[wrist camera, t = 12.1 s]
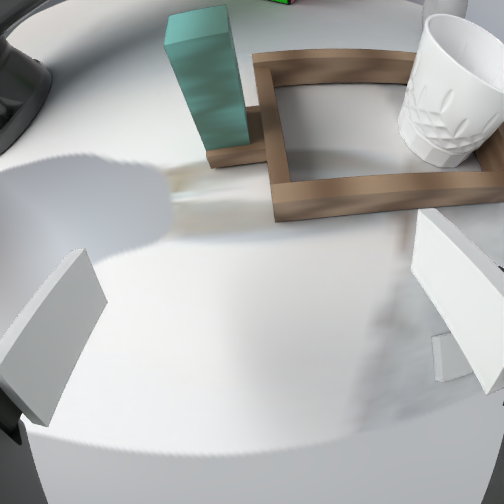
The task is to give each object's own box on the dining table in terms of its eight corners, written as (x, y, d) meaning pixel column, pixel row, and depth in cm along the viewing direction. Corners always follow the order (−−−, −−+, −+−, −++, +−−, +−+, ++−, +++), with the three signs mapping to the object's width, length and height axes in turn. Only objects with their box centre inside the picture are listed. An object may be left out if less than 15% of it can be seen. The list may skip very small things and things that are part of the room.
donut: (450, 63, 24) (479, -5, 14) (421, 52, 25) (445, -20, 15) (441, 22, 26) (460, -35, 17) (417, 13, 27) (432, -46, 17)
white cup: (428, 90, 23) (462, 10, 14) (486, 153, 21) (543, 83, 11) (371, 117, 23) (400, 19, 13) (436, 192, 20) (503, 110, 11)
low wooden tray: (214, 229, 21) (151, 127, 10) (209, 86, 25) (177, -19, 14) (503, 201, 19) (584, 130, 9) (447, 79, 23) (484, -4, 12)
